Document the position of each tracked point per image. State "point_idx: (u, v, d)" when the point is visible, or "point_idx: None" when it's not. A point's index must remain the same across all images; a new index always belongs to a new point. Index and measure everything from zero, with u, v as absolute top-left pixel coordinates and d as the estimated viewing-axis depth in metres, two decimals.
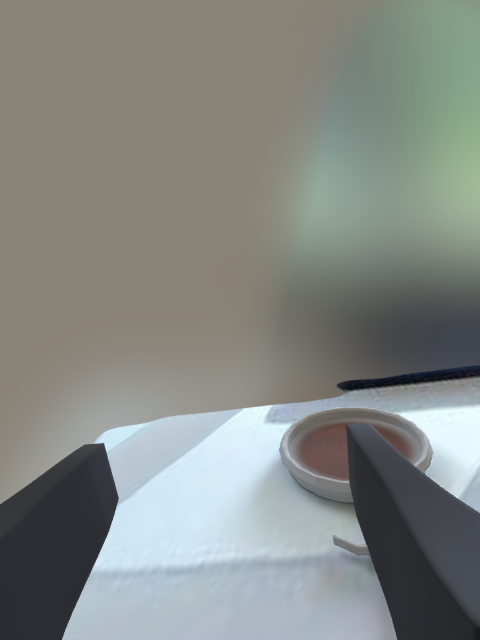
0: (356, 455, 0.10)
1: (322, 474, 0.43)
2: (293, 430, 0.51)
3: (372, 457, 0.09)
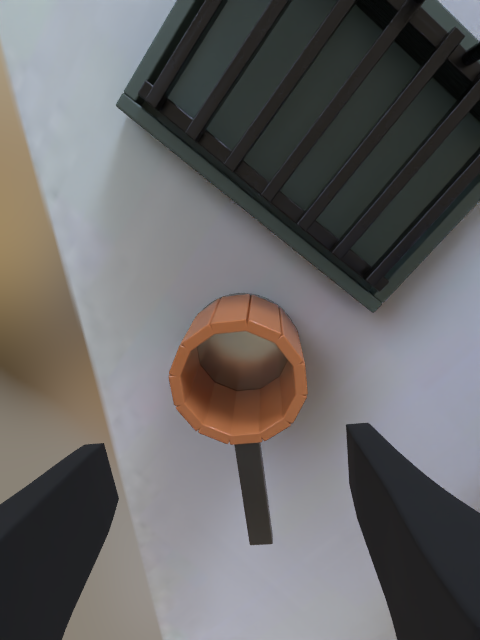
0: (356, 455, 0.10)
1: None
2: None
3: (372, 457, 0.09)
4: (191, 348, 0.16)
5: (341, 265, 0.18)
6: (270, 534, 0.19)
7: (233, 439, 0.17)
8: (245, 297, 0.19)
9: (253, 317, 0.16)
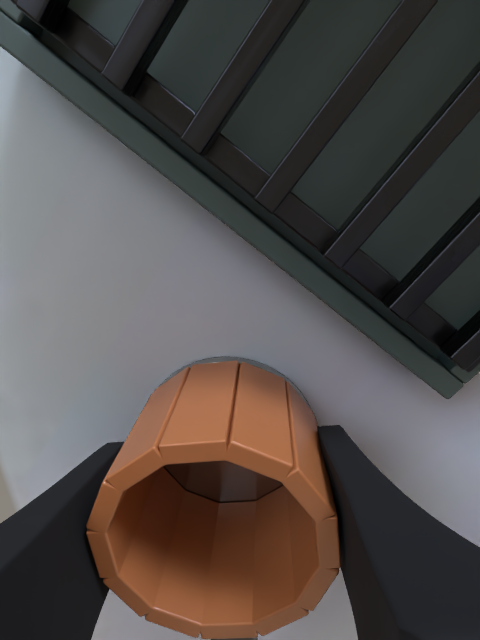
0: (324, 457, 0.10)
1: None
2: None
3: (336, 460, 0.09)
4: (124, 487, 0.09)
5: (392, 317, 0.11)
6: None
7: (206, 631, 0.10)
8: (230, 369, 0.11)
9: (240, 429, 0.09)
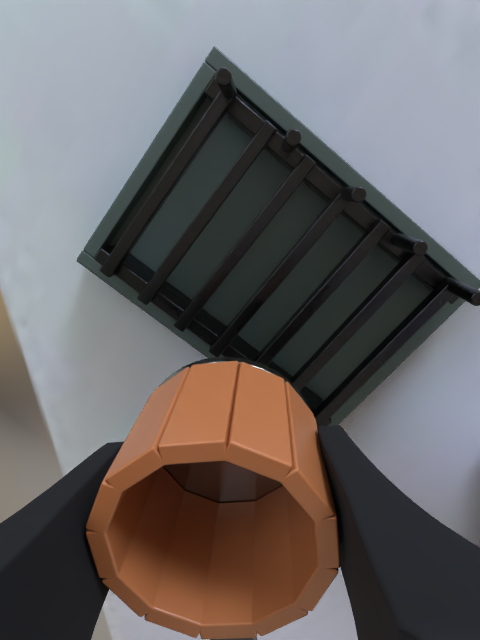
0: (324, 457, 0.10)
1: None
2: None
3: (336, 460, 0.09)
4: (123, 487, 0.09)
5: None
6: None
7: (206, 631, 0.10)
8: (229, 369, 0.11)
9: (240, 429, 0.09)
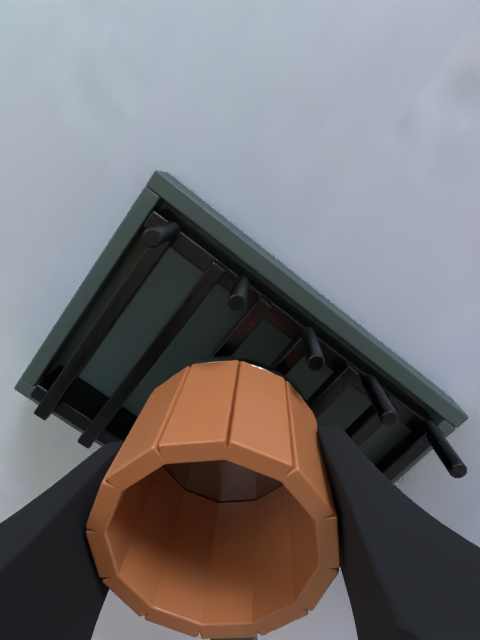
0: (324, 457, 0.10)
1: None
2: None
3: (336, 459, 0.09)
4: (123, 487, 0.09)
5: None
6: None
7: (206, 631, 0.10)
8: (230, 369, 0.11)
9: (240, 428, 0.09)
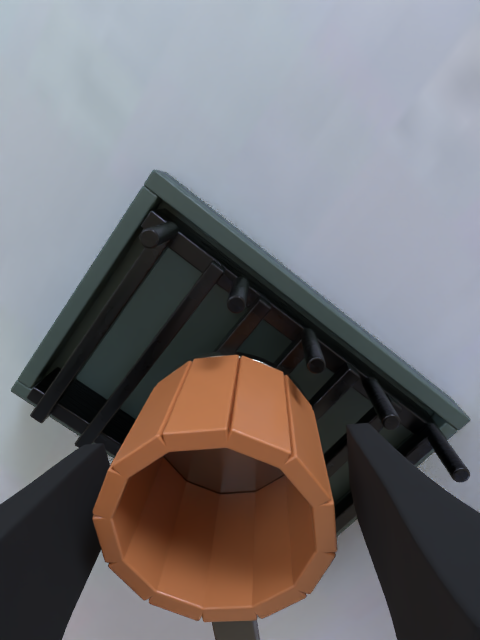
0: (356, 455, 0.10)
1: None
2: None
3: (372, 457, 0.09)
4: (129, 474, 0.09)
5: None
6: None
7: (208, 614, 0.10)
8: (230, 362, 0.12)
9: (240, 418, 0.09)
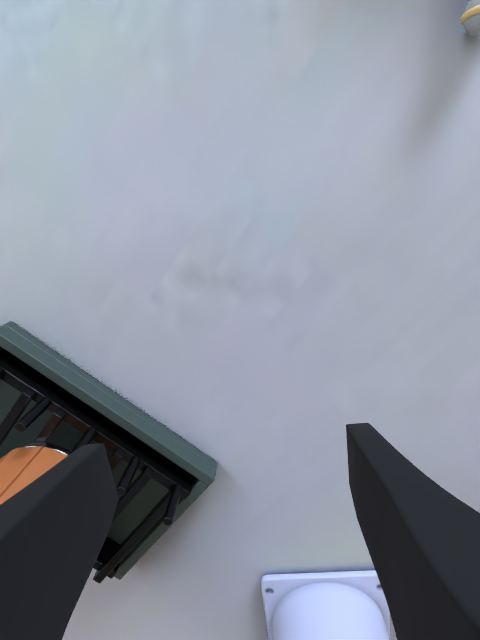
0: (356, 455, 0.10)
1: None
2: None
3: (372, 457, 0.09)
4: None
5: None
6: None
7: None
8: (31, 453, 0.19)
9: (4, 498, 0.17)
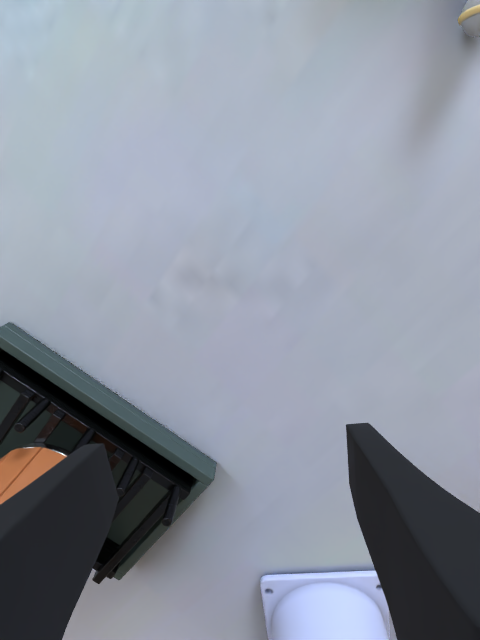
0: (356, 455, 0.10)
1: None
2: None
3: (372, 457, 0.09)
4: None
5: None
6: None
7: None
8: (30, 454, 0.19)
9: (3, 498, 0.17)
